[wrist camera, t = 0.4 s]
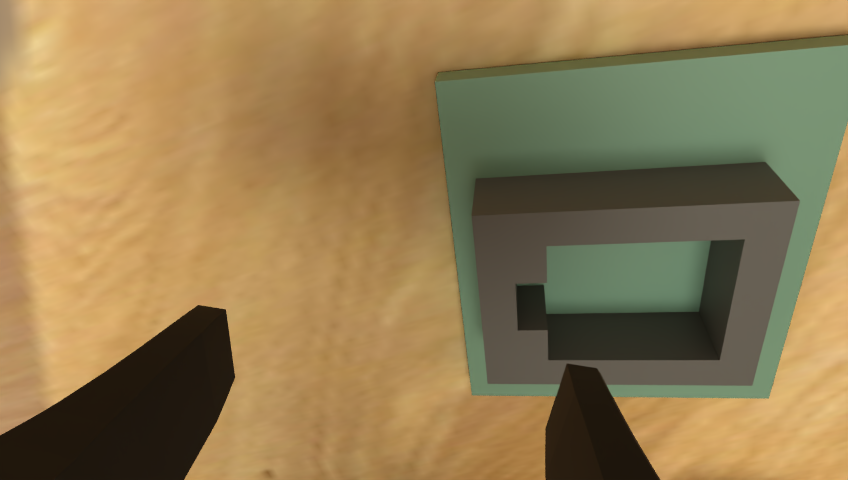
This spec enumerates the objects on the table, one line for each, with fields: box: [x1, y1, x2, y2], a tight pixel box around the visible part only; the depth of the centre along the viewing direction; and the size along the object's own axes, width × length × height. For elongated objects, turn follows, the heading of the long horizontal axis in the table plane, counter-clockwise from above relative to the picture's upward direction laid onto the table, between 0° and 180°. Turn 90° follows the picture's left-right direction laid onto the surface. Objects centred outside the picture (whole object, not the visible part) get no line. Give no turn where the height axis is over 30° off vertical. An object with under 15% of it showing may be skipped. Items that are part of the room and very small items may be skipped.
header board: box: [435, 35, 848, 398], centre depth 19 cm, size 14×12×4 cm
